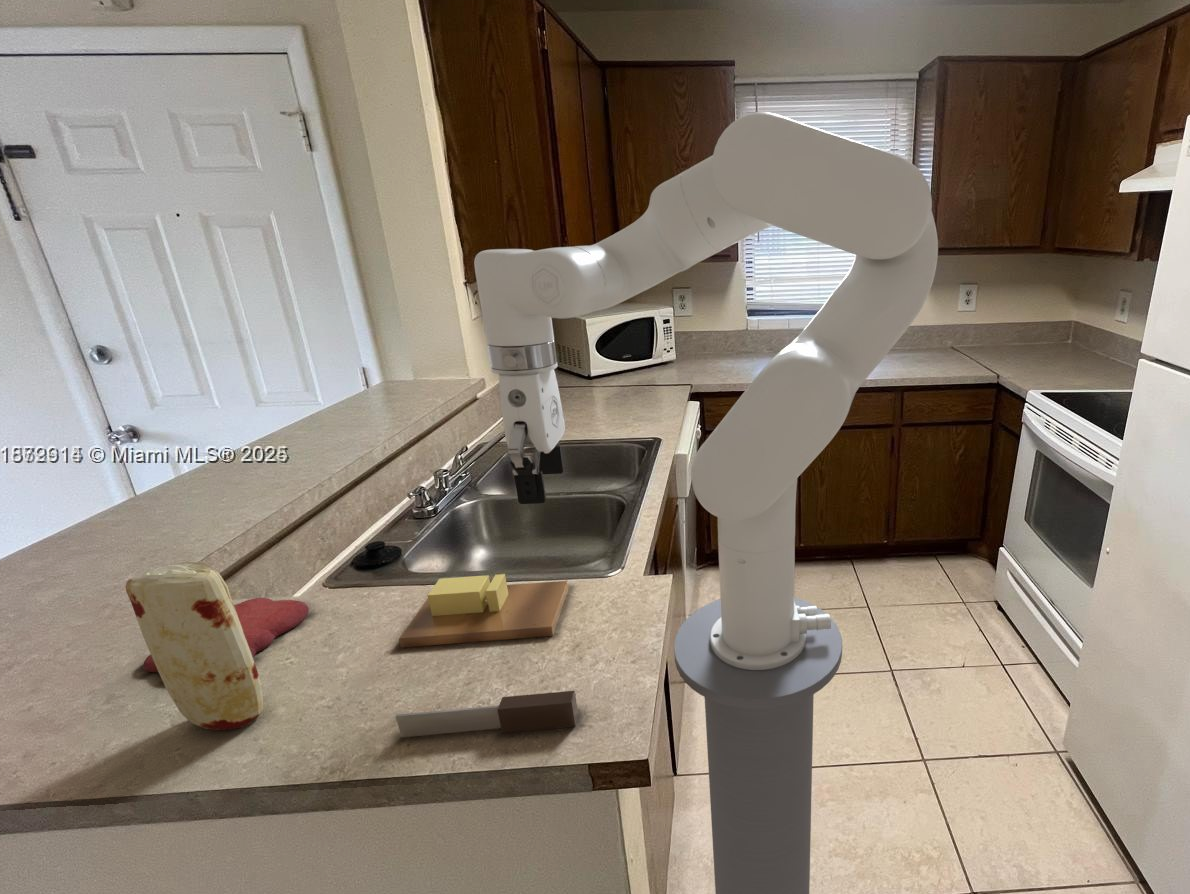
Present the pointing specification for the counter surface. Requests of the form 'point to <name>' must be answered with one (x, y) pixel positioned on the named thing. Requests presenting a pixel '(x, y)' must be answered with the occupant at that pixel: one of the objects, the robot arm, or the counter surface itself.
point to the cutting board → (493, 618)
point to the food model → (198, 644)
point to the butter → (459, 595)
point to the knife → (497, 716)
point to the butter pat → (497, 593)
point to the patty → (261, 622)
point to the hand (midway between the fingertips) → (542, 487)
